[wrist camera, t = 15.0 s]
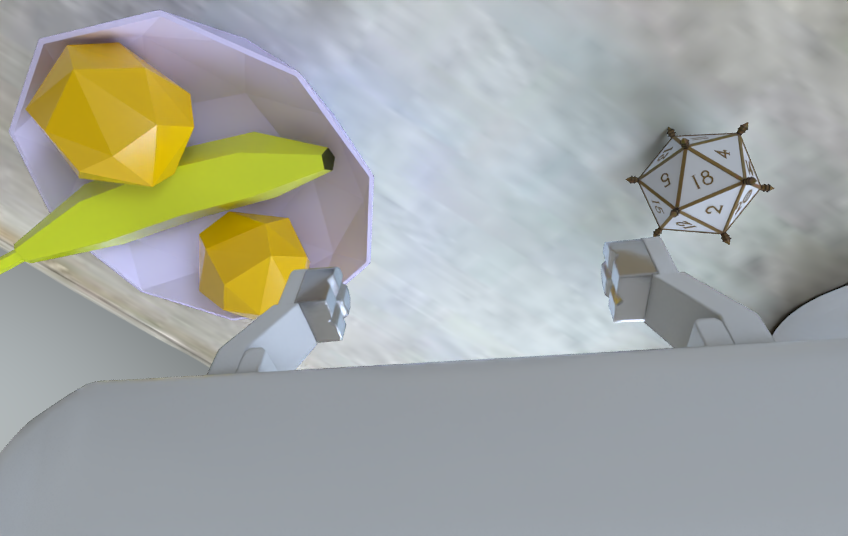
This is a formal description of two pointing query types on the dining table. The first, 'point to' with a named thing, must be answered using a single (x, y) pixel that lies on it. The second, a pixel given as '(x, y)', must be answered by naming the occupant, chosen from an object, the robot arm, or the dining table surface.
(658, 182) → the game die
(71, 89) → the fruit bowl
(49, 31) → the dining table surface
